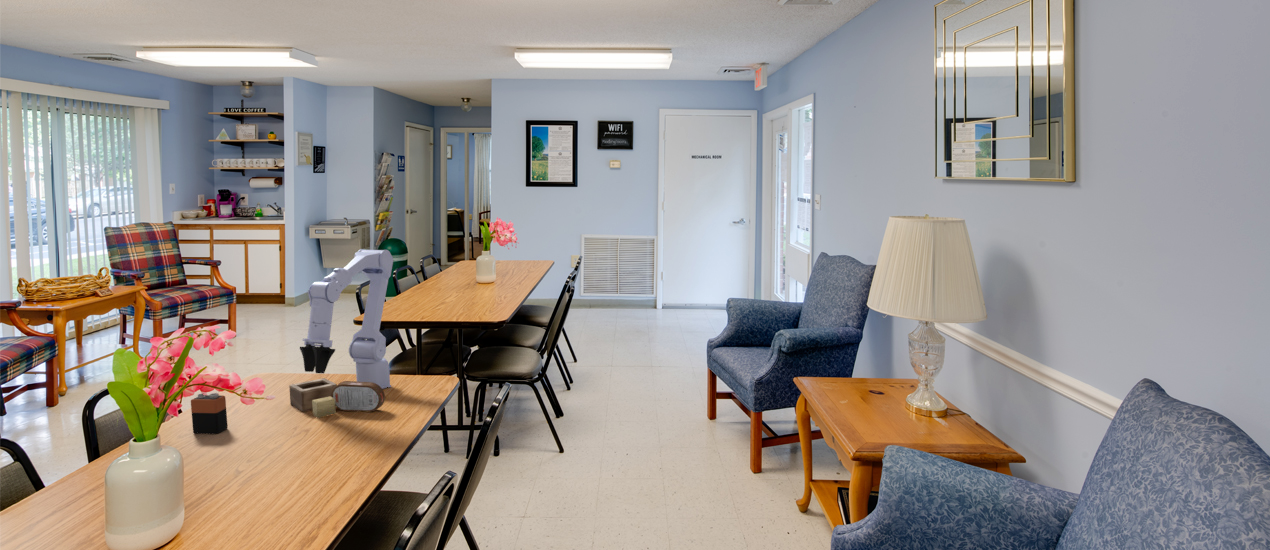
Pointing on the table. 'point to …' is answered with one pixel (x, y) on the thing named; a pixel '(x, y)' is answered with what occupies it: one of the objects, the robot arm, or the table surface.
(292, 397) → the coin box
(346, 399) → the tin
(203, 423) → the battery
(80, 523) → the table surface
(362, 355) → the robot arm
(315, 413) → the olive yellow block
